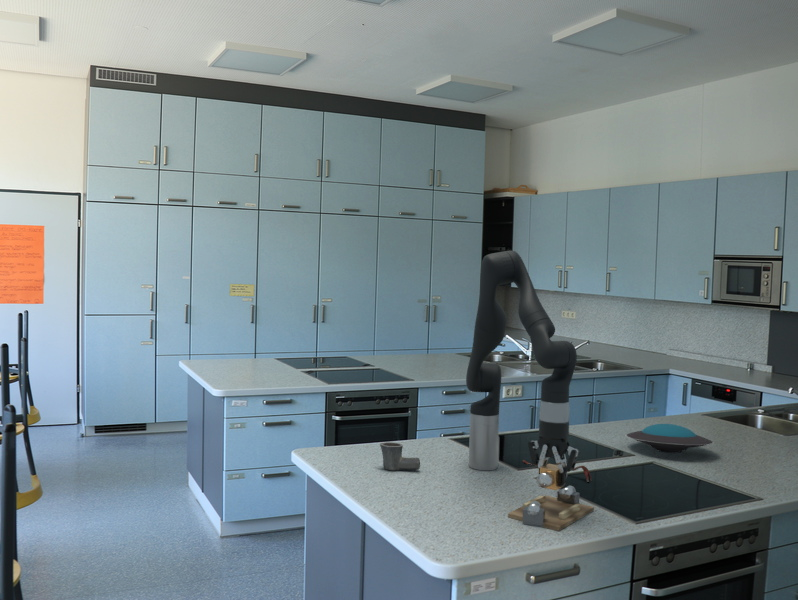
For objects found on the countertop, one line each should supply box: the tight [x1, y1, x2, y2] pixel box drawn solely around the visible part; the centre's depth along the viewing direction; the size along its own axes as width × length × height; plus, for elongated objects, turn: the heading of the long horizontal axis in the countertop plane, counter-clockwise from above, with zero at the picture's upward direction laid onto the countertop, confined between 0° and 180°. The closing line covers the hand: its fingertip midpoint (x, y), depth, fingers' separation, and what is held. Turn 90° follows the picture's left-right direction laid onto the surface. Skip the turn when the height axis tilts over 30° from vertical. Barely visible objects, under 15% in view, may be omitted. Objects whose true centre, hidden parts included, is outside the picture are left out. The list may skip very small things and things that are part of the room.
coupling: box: [536, 463, 565, 491], centre depth 177 cm, size 10×4×5 cm, turn 140°
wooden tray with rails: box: [507, 494, 595, 532], centre depth 177 cm, size 20×14×2 cm
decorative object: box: [624, 423, 714, 454], centre depth 245 cm, size 29×29×10 cm
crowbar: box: [522, 459, 592, 483], centre depth 216 cm, size 26×2×5 cm, turn 38°
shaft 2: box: [556, 485, 581, 505], centre depth 184 cm, size 4×5×5 cm
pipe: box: [379, 441, 421, 471], centre depth 214 cm, size 6×13×8 cm, turn 79°
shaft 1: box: [522, 501, 545, 528], centre depth 170 cm, size 4×5×5 cm
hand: (552, 483), depth 177 cm, fingers closed on coupling, 4 cm apart
